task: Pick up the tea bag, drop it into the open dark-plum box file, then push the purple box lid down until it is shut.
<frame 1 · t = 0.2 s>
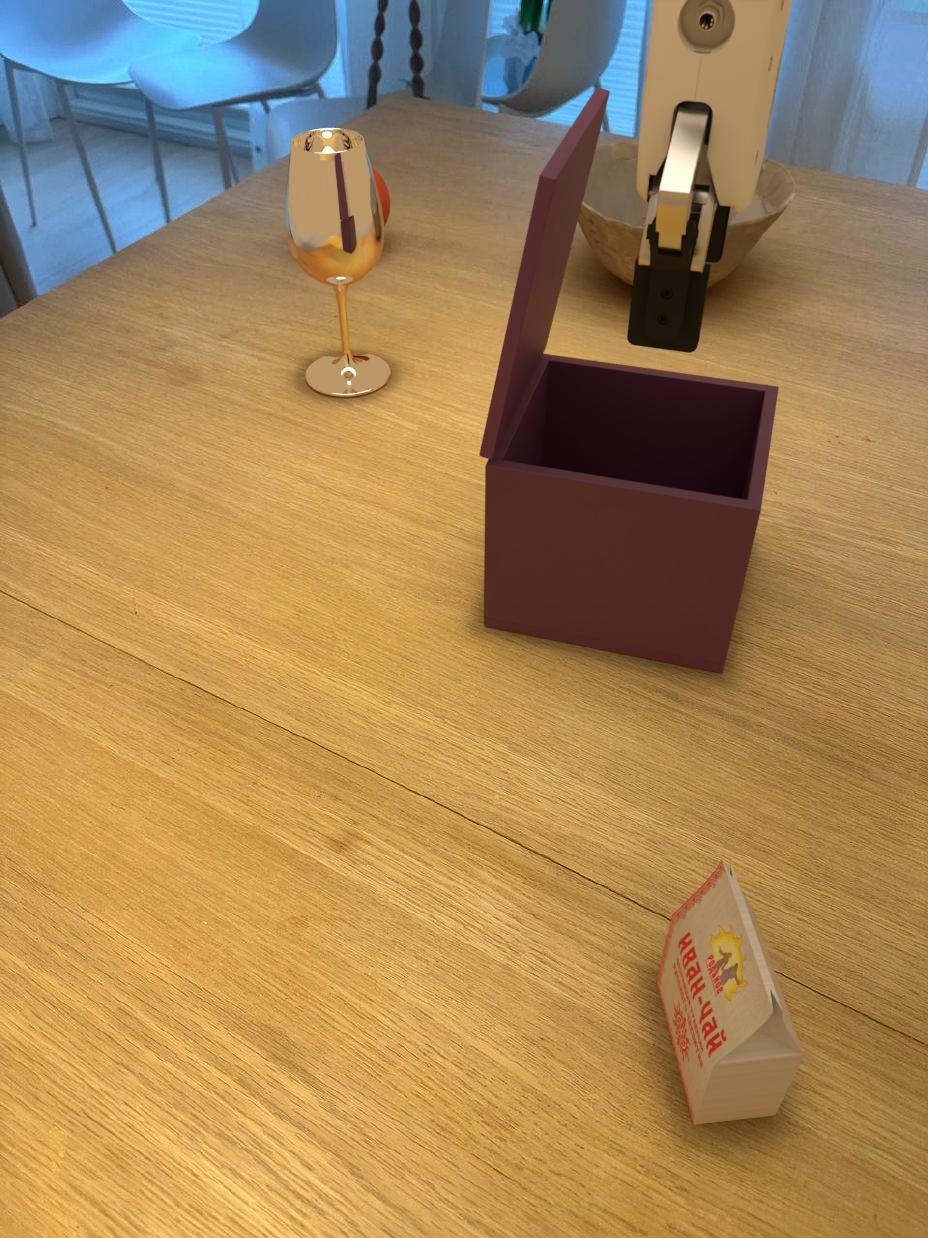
hand: (677, 298, 52), 24 cm above the table, tool pointing down, fingers open, 9 cm apart
ceramic bowl: (664, 279, 107), on the table
tomato: (345, 249, 113), on the table
wineglass: (348, 377, 93), on the table
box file: (619, 583, 72), on the table
purple box lid: (543, 276, 59), point 21 cm above the table, hinge at 80.0°
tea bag: (712, 1047, 49), on the table
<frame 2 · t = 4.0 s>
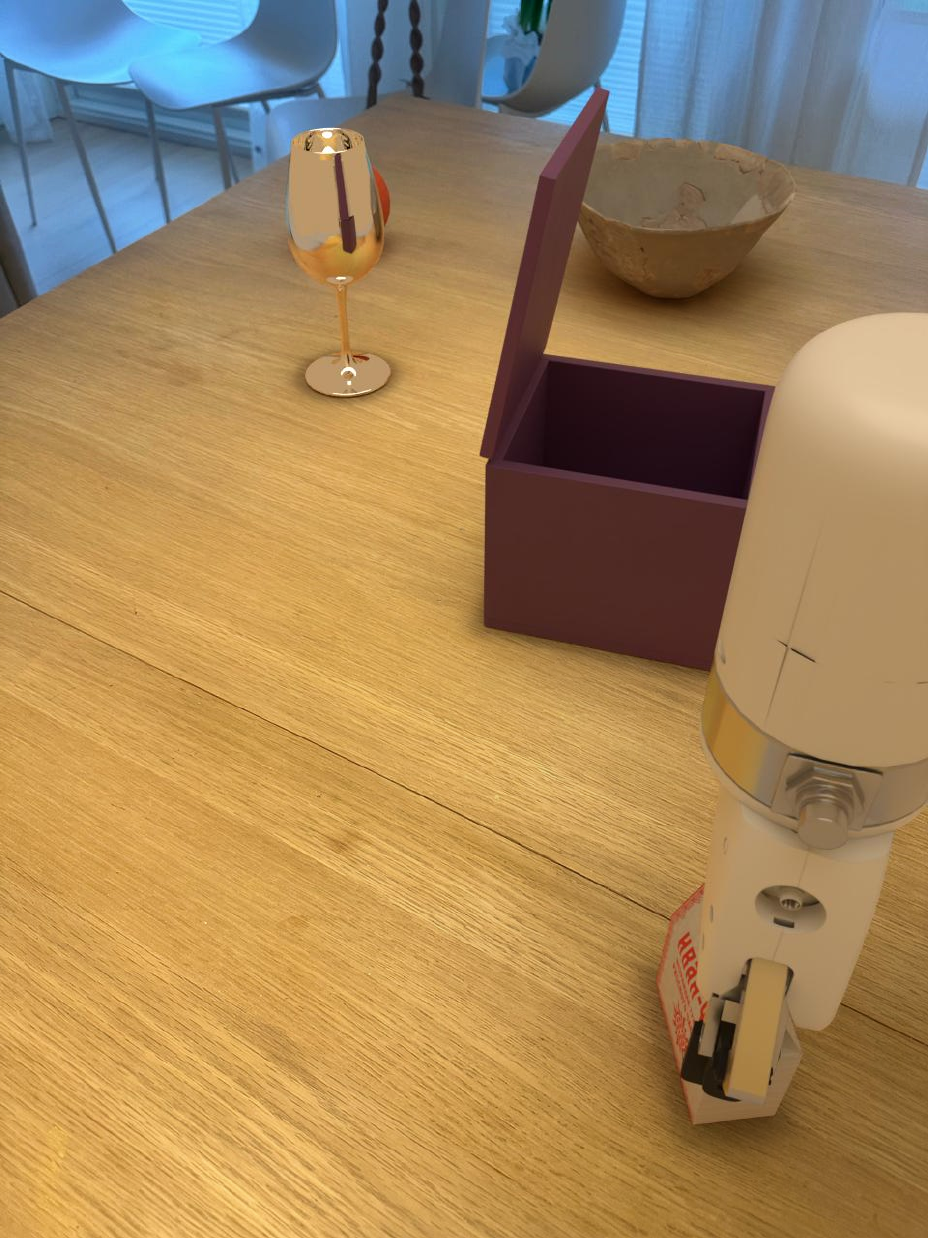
hand: (731, 987, 45), 5 cm above the table, tool pointing down, fingers closed on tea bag, 7 cm apart
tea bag: (711, 1047, 49), on the table, touching gripper
everything else where it was.
when the fingers open (15 cm above the table, at t = 11.3 s): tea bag drops 9 cm, resting on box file.
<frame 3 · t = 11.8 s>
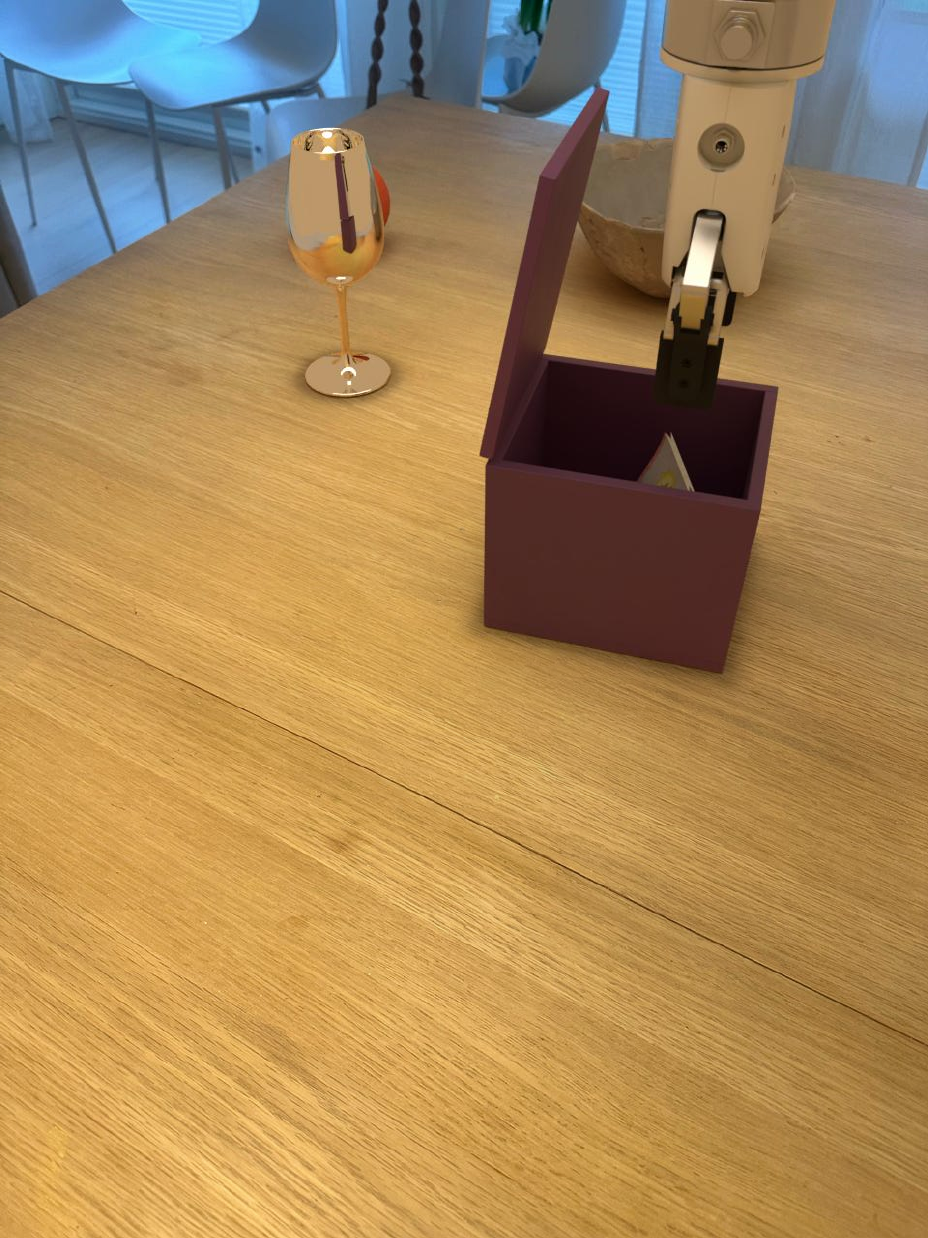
hand: (693, 360, 60), 17 cm above the table, tool pointing down, fingers open, 9 cm apart
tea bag: (660, 587, 71), point 1 cm above the table, touching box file
everything else where it was.
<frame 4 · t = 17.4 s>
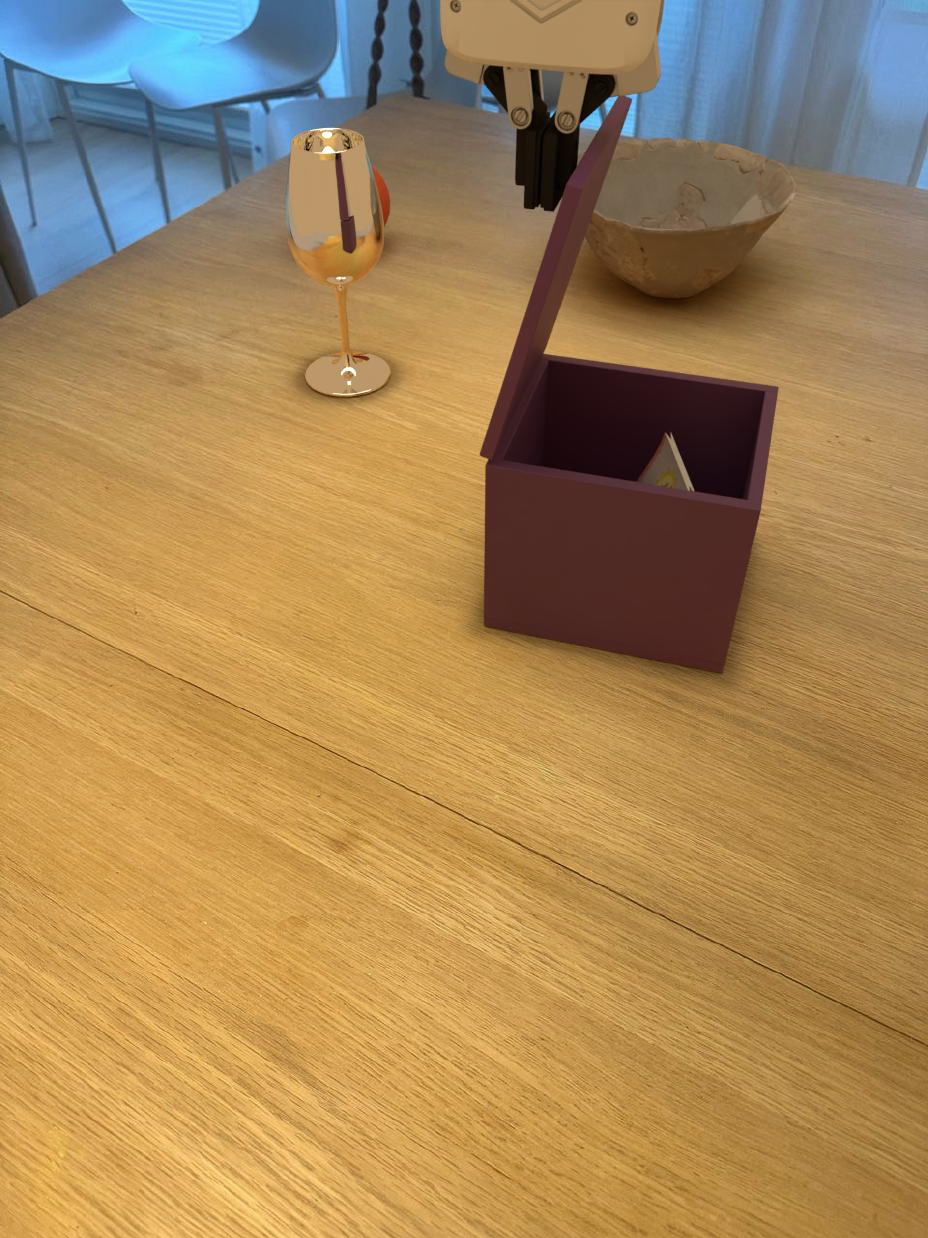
hand: (544, 200, 56), 26 cm above the table, tool pointing down, fingers closed
purple box lid: (554, 280, 59), point 21 cm above the table, hinge at 75.3°, touching gripper
everything else where it was.
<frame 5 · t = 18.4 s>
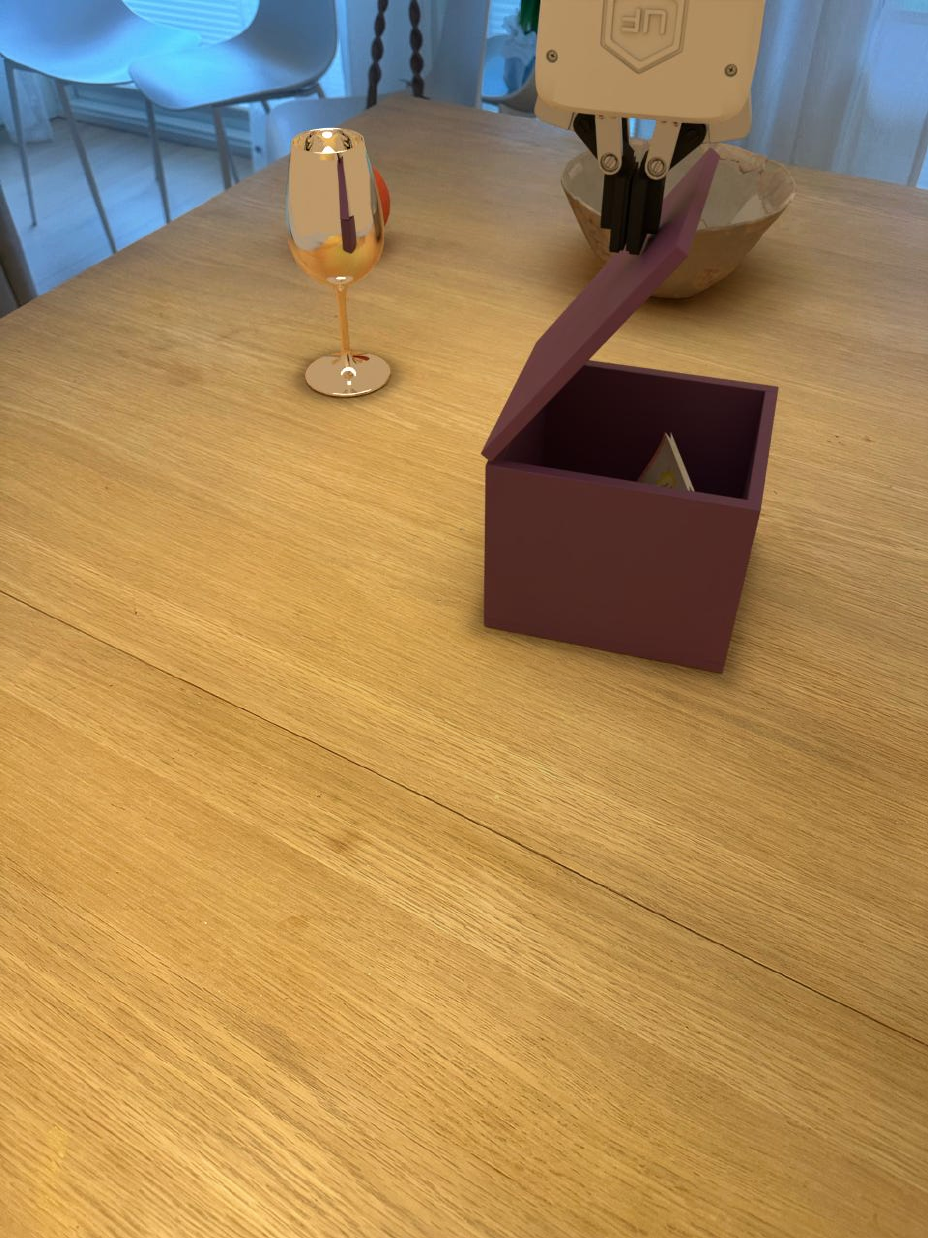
hand: (628, 242, 57), 24 cm above the table, tool pointing down, fingers closed
purple box lid: (599, 306, 60), point 20 cm above the table, hinge at 54.8°, touching gripper
everything else where it was.
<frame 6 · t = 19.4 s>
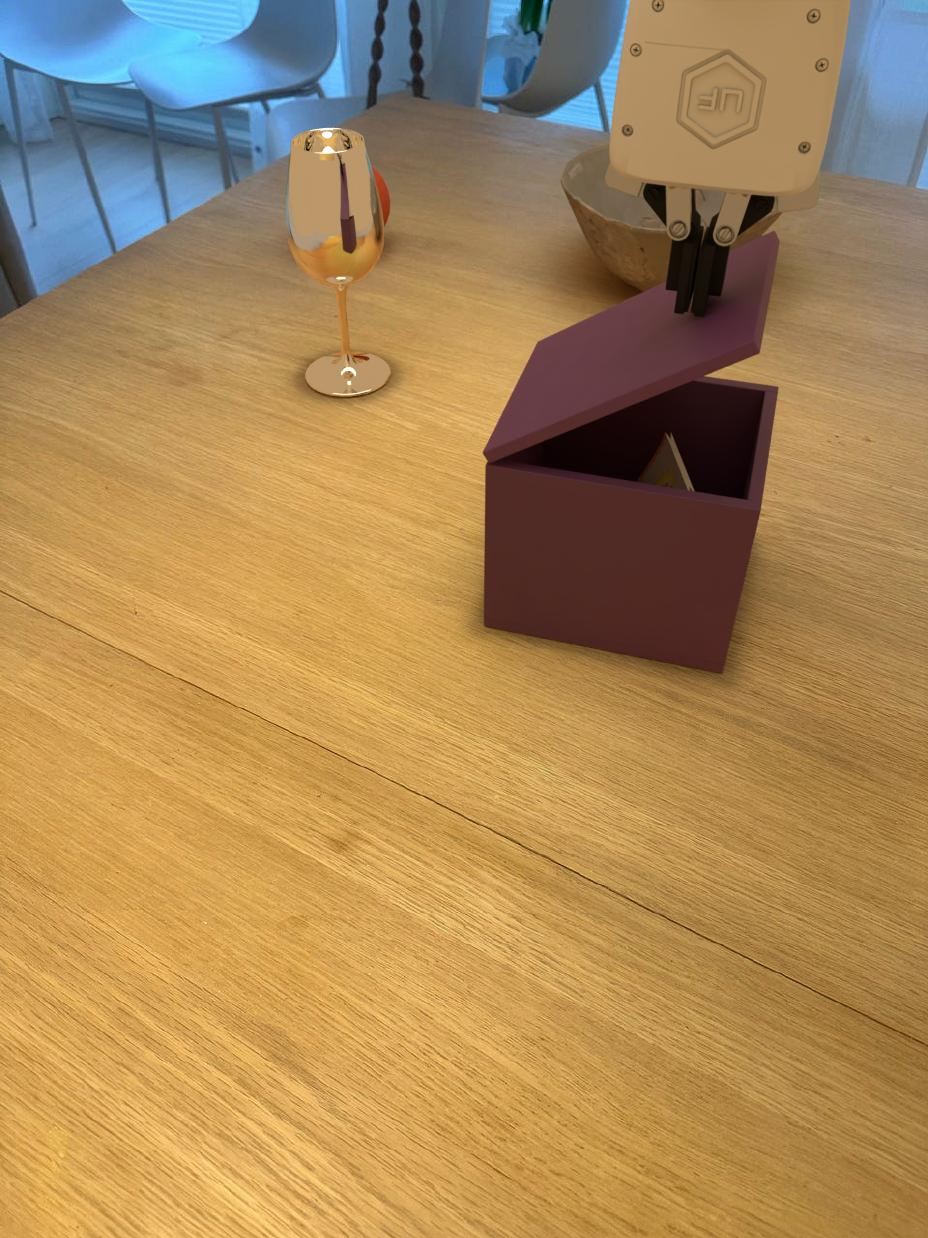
hand: (691, 303, 58), 21 cm above the table, tool pointing down, fingers closed
purple box lid: (632, 346, 61), point 18 cm above the table, hinge at 33.6°, touching gripper
everything else where it was.
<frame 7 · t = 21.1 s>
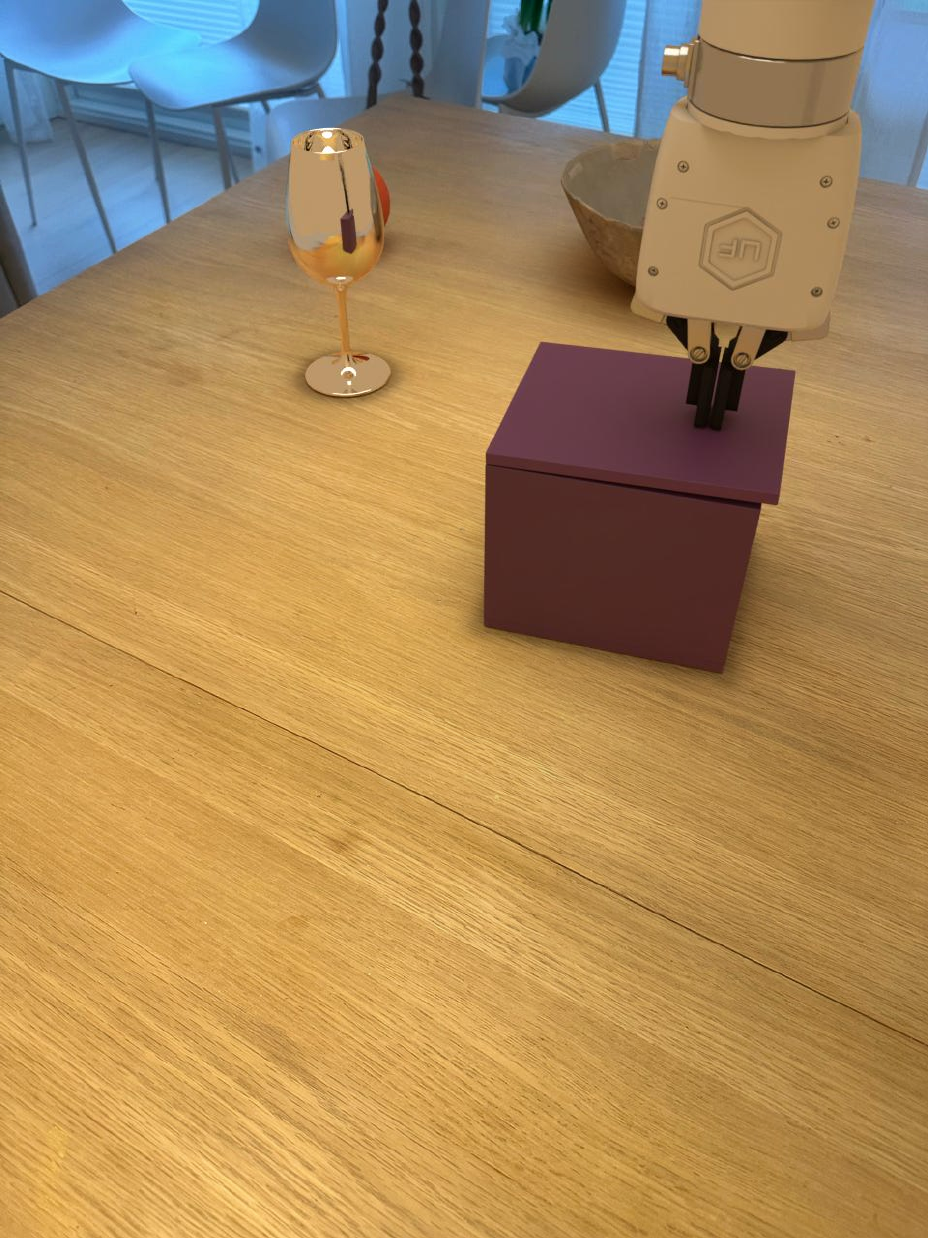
hand: (710, 415, 62), 14 cm above the table, tool pointing down, fingers closed
purple box lid: (647, 415, 63), point 13 cm above the table, hinge at 1.4°, touching gripper
everything else where it was.
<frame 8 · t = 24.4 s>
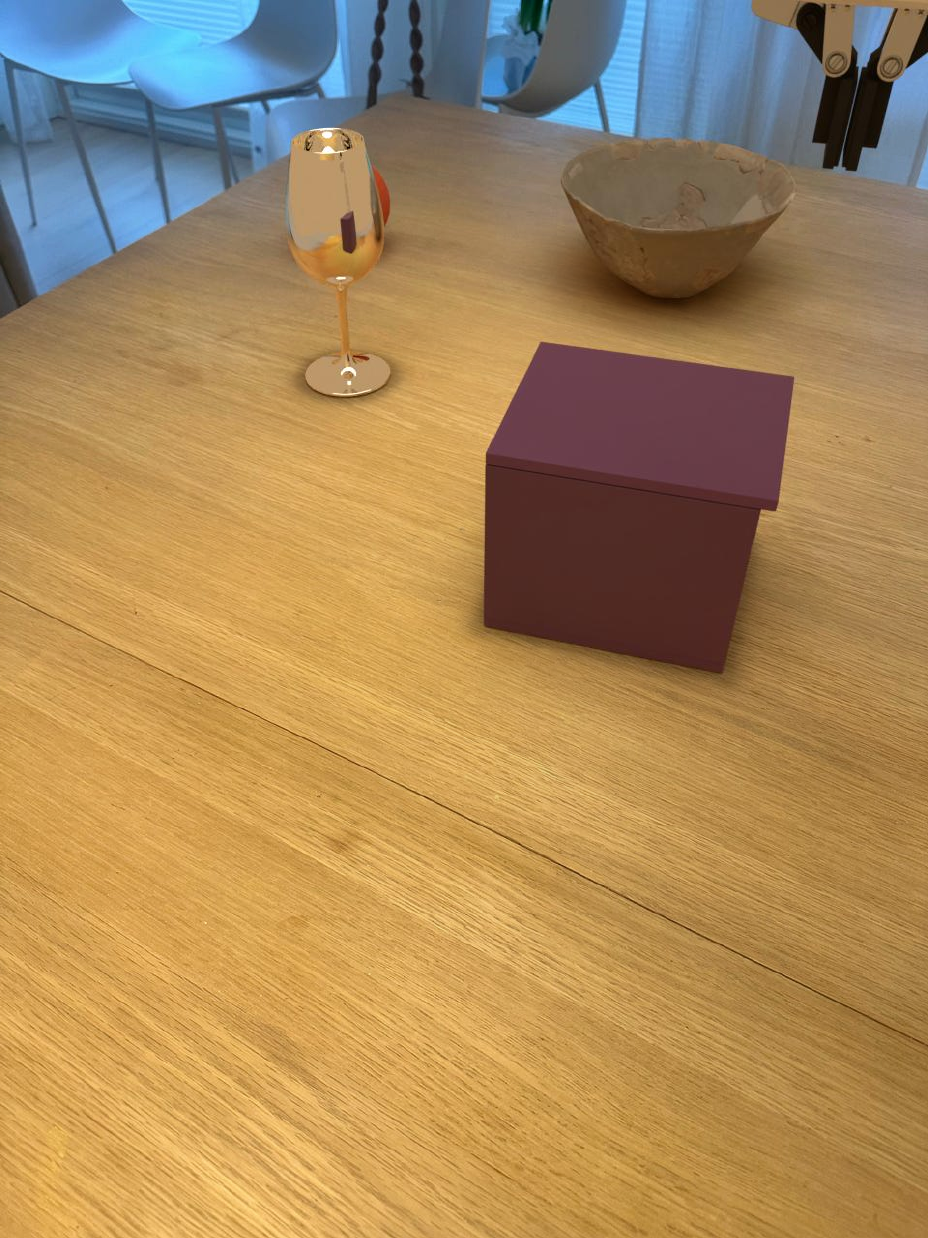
hand: (840, 159, 51), 29 cm above the table, tool pointing down, fingers closed
purple box lid: (646, 418, 63), point 13 cm above the table, hinge at 0.0°
everything else where it was.
at the end: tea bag inside the target area in the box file (2.8 cm from its centre), point 0.6 cm above the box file's base; purple box lid at +0° (first picture: +80°) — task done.
